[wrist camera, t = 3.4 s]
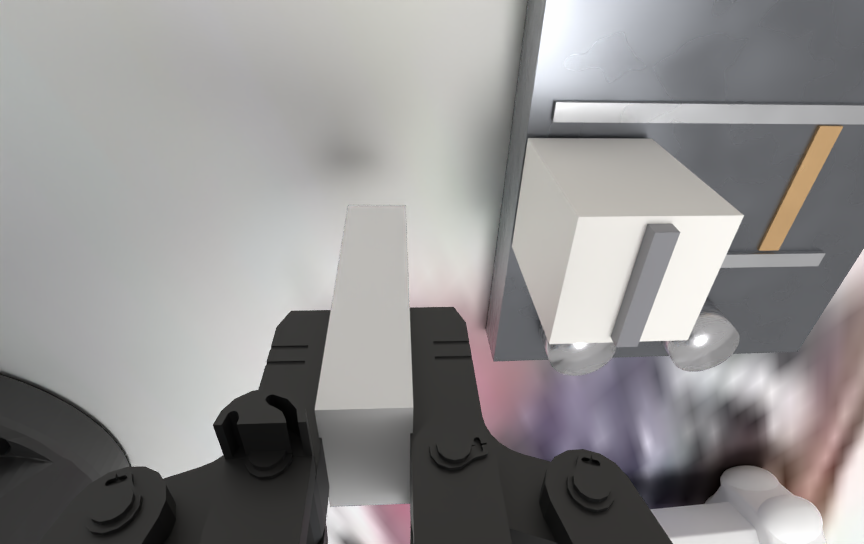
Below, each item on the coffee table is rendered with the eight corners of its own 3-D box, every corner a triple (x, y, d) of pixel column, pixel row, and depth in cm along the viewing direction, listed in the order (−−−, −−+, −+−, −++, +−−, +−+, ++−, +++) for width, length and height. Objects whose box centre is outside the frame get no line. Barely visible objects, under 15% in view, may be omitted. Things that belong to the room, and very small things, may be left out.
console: (485, 330, 23) (500, 390, 20) (541, -102, 14) (582, -107, 11) (770, 322, 24) (822, 378, 21) (998, -82, 15) (1149, -81, 12)
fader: (511, 246, 18) (553, 354, 13) (528, 137, 15) (584, 225, 11) (619, 245, 18) (694, 349, 14) (651, 138, 16) (754, 223, 11)
